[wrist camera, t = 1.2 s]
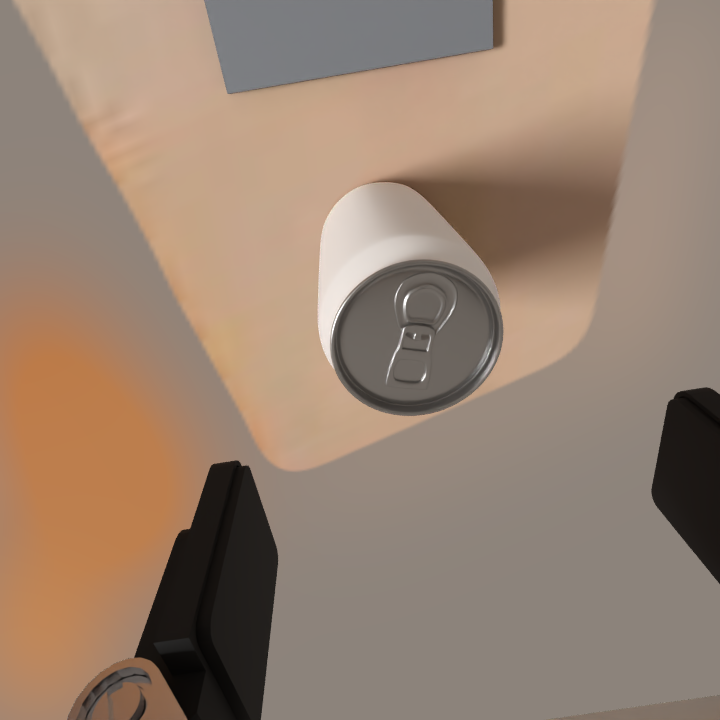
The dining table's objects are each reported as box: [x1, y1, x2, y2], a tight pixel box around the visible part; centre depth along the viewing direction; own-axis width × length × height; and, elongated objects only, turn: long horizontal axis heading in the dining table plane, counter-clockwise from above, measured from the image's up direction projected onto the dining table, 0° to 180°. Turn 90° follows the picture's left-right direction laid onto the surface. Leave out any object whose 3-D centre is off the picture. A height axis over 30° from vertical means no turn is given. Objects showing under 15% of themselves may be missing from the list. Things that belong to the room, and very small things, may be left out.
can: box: [318, 182, 503, 416], centre depth 21 cm, size 6×6×12 cm
